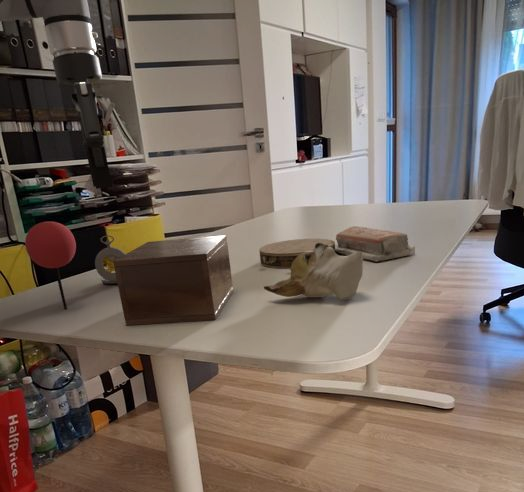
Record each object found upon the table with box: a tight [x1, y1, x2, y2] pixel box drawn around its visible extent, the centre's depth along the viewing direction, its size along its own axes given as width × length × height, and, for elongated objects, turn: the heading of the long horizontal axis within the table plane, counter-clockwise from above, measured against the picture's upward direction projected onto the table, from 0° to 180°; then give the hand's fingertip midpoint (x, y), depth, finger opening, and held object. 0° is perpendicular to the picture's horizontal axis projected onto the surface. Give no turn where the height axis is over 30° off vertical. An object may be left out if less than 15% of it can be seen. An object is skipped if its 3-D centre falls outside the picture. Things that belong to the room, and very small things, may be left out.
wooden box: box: [113, 234, 234, 326], centre depth 83 cm, size 16×14×10 cm
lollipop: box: [24, 221, 77, 310], centre depth 89 cm, size 8×8×15 cm
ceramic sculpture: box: [263, 243, 364, 301], centre depth 81 cm, size 11×9×15 cm
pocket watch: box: [94, 234, 126, 285], centre depth 106 cm, size 8×8×10 cm
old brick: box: [335, 225, 416, 263], centre depth 109 cm, size 18×5×10 cm
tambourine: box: [258, 238, 336, 269], centre depth 110 cm, size 16×16×3 cm
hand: (102, 186), depth 95 cm, fingers open, 13 cm apart
